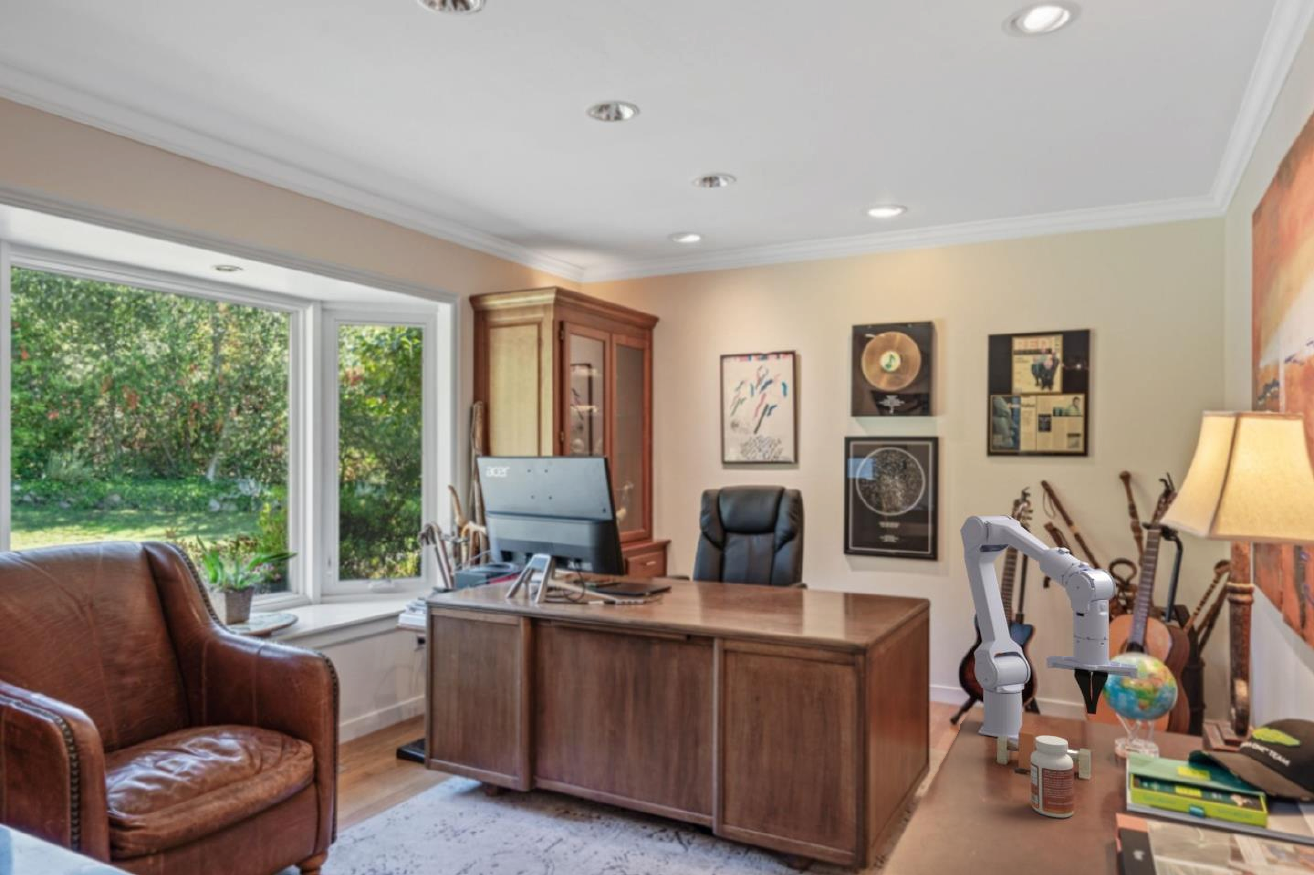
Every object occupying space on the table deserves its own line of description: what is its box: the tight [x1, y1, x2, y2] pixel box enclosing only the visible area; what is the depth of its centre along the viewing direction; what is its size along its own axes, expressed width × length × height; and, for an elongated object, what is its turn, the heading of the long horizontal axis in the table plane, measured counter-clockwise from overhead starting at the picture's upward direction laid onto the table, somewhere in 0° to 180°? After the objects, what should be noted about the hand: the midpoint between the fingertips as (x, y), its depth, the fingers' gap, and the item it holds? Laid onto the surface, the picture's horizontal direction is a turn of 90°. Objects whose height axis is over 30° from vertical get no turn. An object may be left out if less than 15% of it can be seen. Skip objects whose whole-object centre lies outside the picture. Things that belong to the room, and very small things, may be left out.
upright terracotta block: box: [1018, 722, 1039, 772], centre depth 150 cm, size 2×6×6 cm, turn 148°
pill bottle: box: [1030, 735, 1075, 819], centre depth 131 cm, size 6×6×11 cm
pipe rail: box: [996, 735, 1092, 781], centre depth 149 cm, size 15×10×4 cm, turn 58°
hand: (1091, 712), depth 149 cm, fingers closed
